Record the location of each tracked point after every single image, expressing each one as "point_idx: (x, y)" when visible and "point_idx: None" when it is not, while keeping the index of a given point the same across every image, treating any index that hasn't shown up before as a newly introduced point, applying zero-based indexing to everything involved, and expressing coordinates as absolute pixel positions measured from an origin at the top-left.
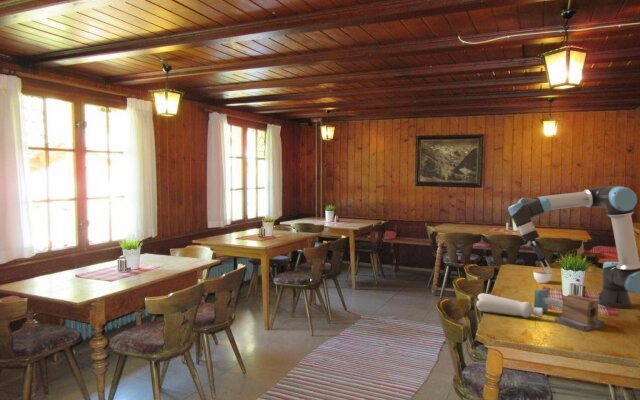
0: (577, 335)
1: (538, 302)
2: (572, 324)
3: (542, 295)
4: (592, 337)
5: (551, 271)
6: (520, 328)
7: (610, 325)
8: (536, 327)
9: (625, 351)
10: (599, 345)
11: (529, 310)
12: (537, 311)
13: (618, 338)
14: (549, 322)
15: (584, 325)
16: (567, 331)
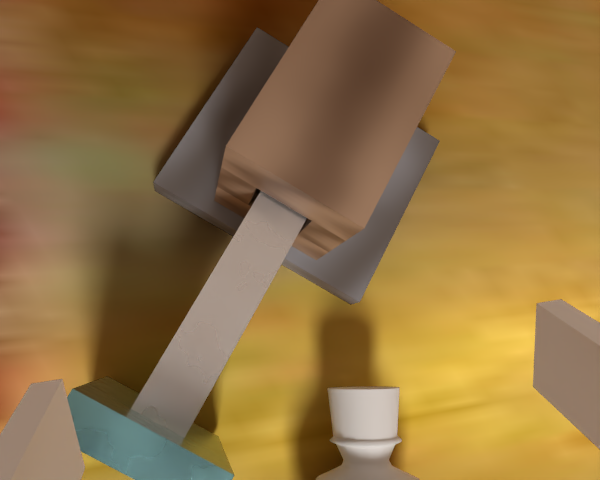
0: (513, 180)
1: (219, 448)
2: (408, 199)
3: (168, 431)
4: (500, 115)
5: (569, 313)
6: (583, 472)
7: (233, 12)
8: (512, 391)
9: (596, 7)
10: (590, 94)
11: (415, 477)
12: (397, 419)
13: (443, 7)
14: (371, 333)
15: (412, 137)
16: (480, 227)
